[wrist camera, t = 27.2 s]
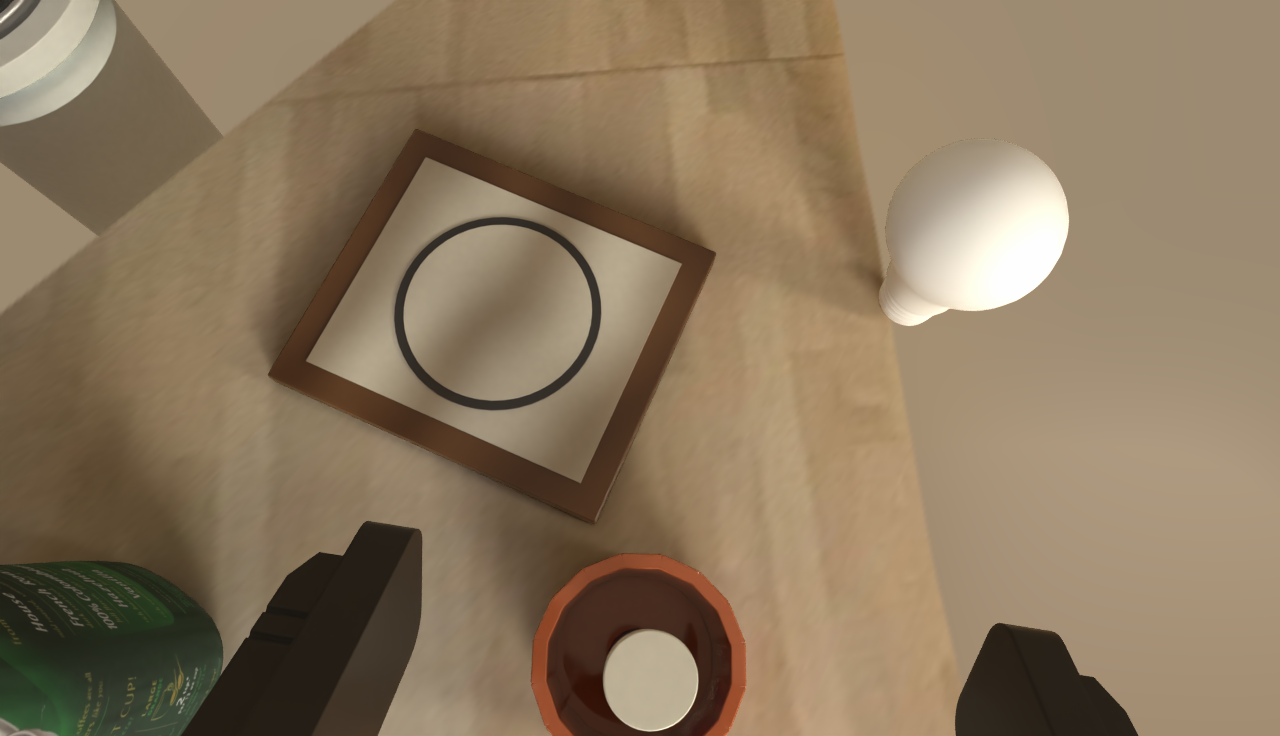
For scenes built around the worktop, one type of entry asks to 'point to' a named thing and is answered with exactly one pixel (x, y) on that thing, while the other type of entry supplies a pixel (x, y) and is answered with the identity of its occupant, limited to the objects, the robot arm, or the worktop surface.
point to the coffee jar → (101, 651)
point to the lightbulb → (971, 230)
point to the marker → (649, 679)
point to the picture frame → (498, 323)
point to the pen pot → (626, 601)
